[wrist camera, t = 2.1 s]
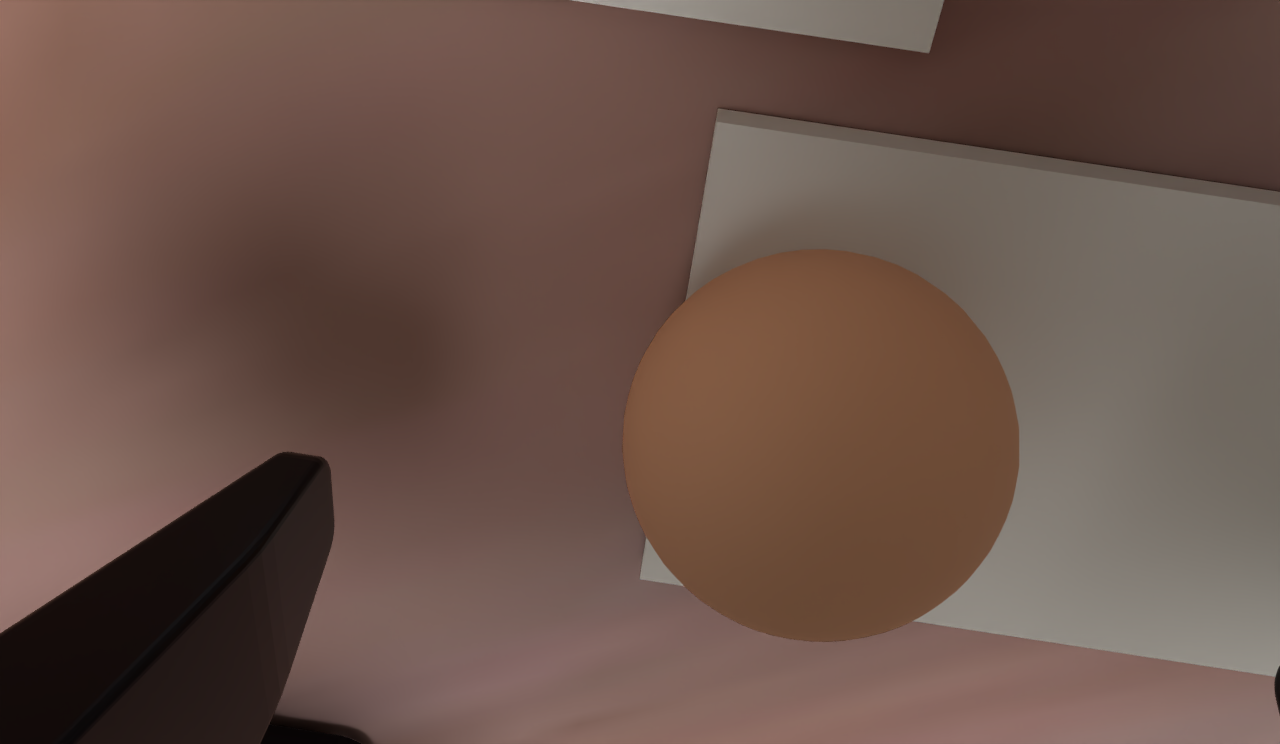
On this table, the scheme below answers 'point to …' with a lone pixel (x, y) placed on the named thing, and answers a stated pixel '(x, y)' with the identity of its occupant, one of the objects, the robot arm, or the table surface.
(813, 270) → the terracotta ball
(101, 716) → the robot arm
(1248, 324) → the mat
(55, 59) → the table surface
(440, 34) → the table surface
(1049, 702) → the table surface
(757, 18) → the card
